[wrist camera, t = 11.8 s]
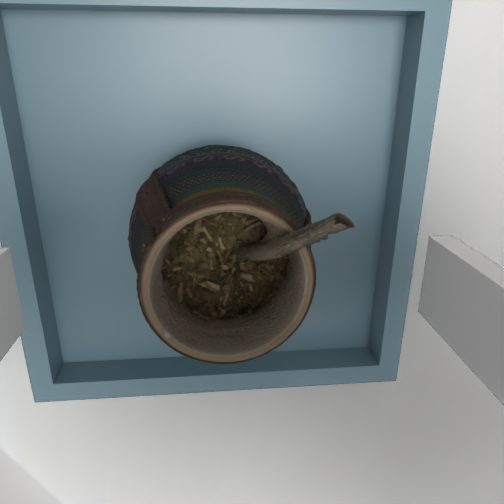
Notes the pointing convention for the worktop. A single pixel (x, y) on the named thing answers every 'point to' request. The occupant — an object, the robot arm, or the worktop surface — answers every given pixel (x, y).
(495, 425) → the worktop surface
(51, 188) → the slate tray
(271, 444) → the worktop surface
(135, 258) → the mate gourd
